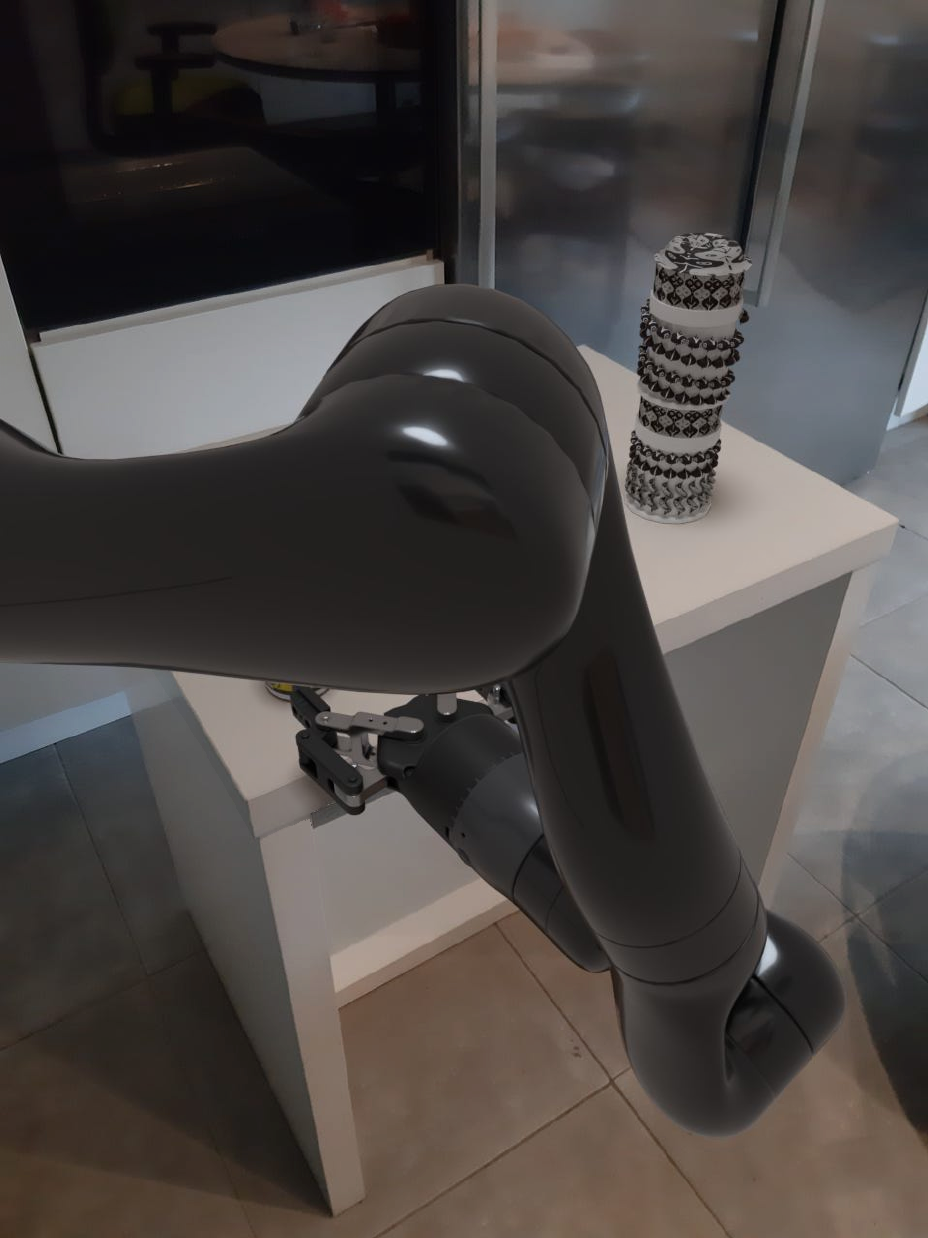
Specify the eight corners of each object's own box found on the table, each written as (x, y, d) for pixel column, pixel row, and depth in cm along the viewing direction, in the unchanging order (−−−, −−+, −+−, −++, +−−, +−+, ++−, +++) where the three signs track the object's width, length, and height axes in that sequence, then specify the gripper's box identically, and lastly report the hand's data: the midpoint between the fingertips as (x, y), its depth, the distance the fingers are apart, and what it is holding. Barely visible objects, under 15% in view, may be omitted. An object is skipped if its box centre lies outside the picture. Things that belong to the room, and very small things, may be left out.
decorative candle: (649, 469, 102) (681, 218, 87) (730, 497, 97) (780, 238, 82) (601, 504, 96) (627, 242, 81) (686, 536, 92) (730, 265, 76)
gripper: (601, 708, 57) (434, 582, 68) (403, 825, 50) (250, 665, 60) (590, 796, 62) (436, 665, 72) (408, 914, 55) (265, 751, 65)
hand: (351, 665), depth 66 cm, fingers open, 8 cm apart
